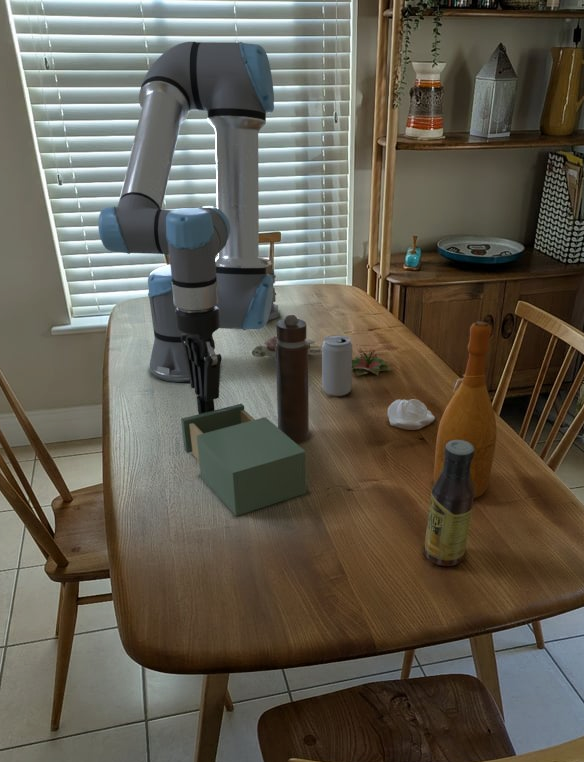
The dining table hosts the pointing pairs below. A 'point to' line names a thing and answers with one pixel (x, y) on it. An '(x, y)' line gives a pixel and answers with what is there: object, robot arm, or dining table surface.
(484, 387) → the wine bottle
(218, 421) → the drawer
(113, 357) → the dining table surface
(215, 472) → the cabinet
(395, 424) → the rose
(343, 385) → the beverage can
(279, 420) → the pepper mill
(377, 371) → the lily flower
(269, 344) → the decorative turtle
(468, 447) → the sauce bottle
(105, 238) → the robot arm
